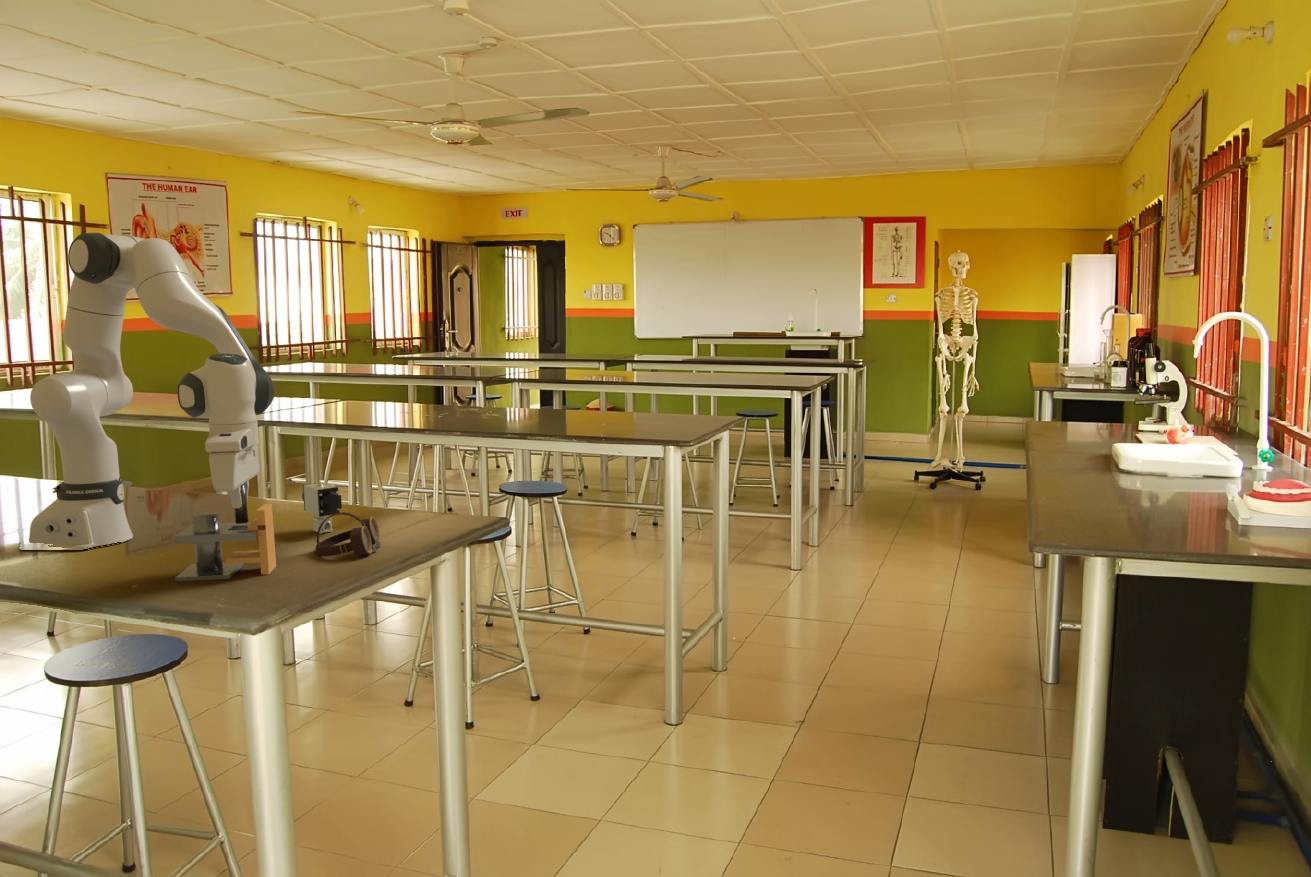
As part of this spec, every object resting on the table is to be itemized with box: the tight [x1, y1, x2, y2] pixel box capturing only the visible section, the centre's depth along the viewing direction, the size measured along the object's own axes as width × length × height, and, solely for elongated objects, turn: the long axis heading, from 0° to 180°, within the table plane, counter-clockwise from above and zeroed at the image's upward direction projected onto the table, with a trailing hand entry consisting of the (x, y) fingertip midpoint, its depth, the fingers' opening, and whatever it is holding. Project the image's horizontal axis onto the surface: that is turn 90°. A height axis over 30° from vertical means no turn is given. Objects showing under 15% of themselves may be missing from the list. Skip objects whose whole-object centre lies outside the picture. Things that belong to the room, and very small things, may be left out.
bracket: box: [225, 503, 277, 576], centre depth 200 cm, size 8×6×13 cm
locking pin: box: [233, 483, 249, 524], centre depth 199 cm, size 2×2×8 cm
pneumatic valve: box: [301, 480, 343, 535], centre depth 234 cm, size 6×12×12 cm, turn 42°
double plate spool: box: [173, 511, 259, 582], centre depth 200 cm, size 16×10×12 cm, turn 97°
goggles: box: [314, 511, 381, 558], centre depth 215 cm, size 15×13×10 cm
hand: (240, 505), depth 199 cm, fingers closed on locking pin, 2 cm apart
